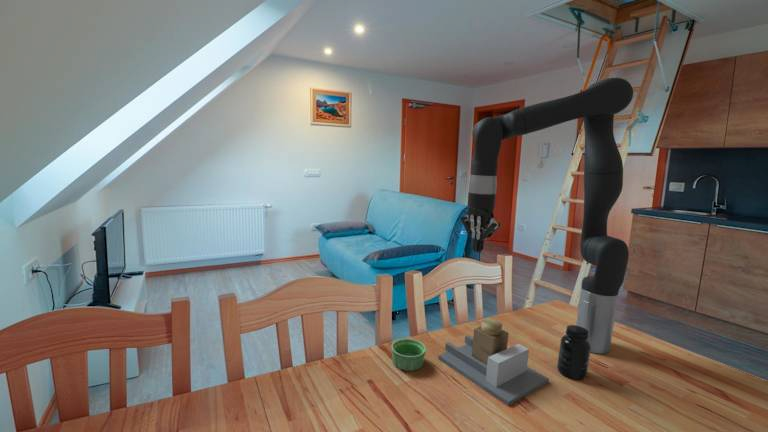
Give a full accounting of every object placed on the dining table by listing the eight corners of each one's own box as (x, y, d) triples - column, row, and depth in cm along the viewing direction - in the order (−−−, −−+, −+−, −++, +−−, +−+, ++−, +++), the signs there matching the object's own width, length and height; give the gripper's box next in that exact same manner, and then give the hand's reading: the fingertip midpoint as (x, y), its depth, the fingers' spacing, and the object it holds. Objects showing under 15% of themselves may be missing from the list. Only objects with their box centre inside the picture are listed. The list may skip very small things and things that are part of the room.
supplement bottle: (590, 382, 89) (597, 337, 87) (561, 378, 90) (566, 333, 88) (581, 367, 95) (587, 324, 94) (554, 363, 97) (559, 321, 95)
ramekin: (385, 366, 92) (386, 351, 92) (398, 350, 101) (398, 335, 100) (418, 376, 89) (419, 360, 88) (429, 358, 97) (430, 343, 96)
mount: (475, 341, 107) (477, 319, 106) (548, 382, 88) (551, 355, 87) (435, 356, 98) (437, 332, 97) (507, 405, 79) (510, 376, 78)
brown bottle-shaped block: (486, 354, 97) (489, 316, 96) (505, 365, 93) (509, 325, 91) (471, 361, 94) (474, 321, 92) (490, 372, 89) (493, 331, 87)
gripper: (510, 193, 98) (504, 255, 101) (472, 189, 109) (468, 245, 112) (492, 194, 94) (487, 258, 97) (455, 189, 105) (451, 247, 107)
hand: (477, 251), depth 104 cm, fingers closed
